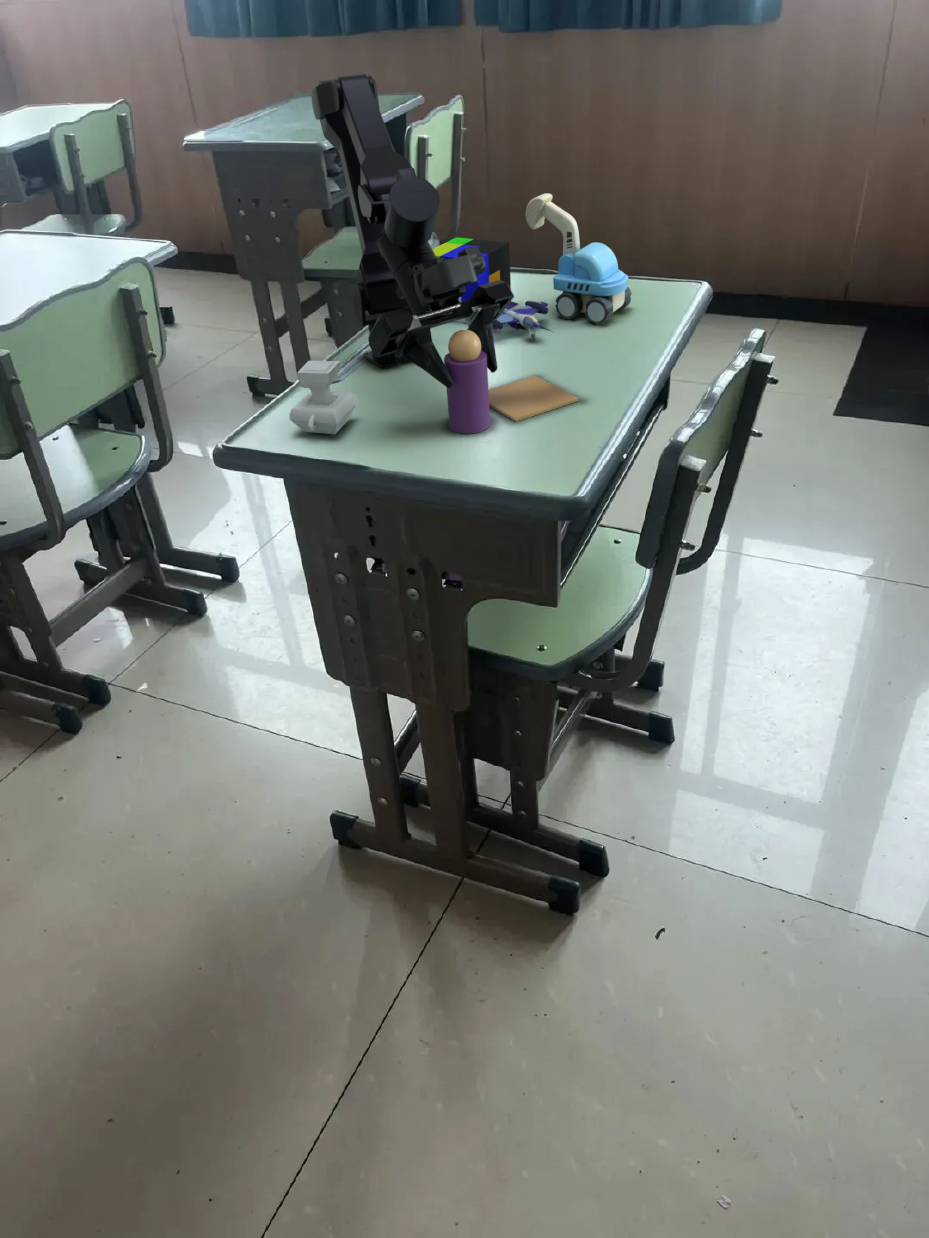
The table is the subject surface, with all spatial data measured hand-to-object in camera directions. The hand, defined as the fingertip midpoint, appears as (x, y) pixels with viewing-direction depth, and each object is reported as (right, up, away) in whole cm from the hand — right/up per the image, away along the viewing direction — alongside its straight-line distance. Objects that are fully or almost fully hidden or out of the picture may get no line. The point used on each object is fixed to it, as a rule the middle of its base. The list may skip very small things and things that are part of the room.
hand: (473, 378), depth 112 cm
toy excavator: (+17, +20, +36) cm, 45 cm away
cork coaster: (+7, 0, +10) cm, 12 cm away
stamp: (-19, -5, +7) cm, 21 cm away
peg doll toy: (0, -5, +5) cm, 7 cm away
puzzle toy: (0, +21, +40) cm, 45 cm away
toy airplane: (+7, +15, +30) cm, 34 cm away
